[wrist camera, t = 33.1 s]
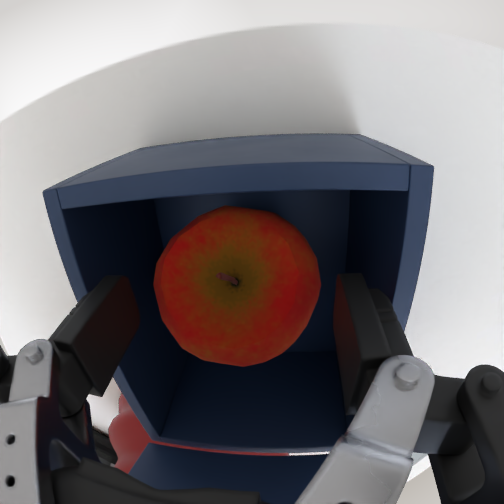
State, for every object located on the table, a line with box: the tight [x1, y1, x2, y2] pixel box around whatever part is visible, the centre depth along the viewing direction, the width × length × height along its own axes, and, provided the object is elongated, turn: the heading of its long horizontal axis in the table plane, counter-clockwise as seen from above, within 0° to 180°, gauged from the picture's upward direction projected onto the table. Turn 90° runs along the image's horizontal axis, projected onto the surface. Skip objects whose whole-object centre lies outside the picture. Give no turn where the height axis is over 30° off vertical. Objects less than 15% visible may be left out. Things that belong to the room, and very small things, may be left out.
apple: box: [153, 205, 321, 367], centre depth 13 cm, size 6×6×8 cm
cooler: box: [43, 134, 434, 453], centre depth 15 cm, size 16×13×9 cm
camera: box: [92, 429, 118, 467], centre depth 34 cm, size 18×10×10 cm
